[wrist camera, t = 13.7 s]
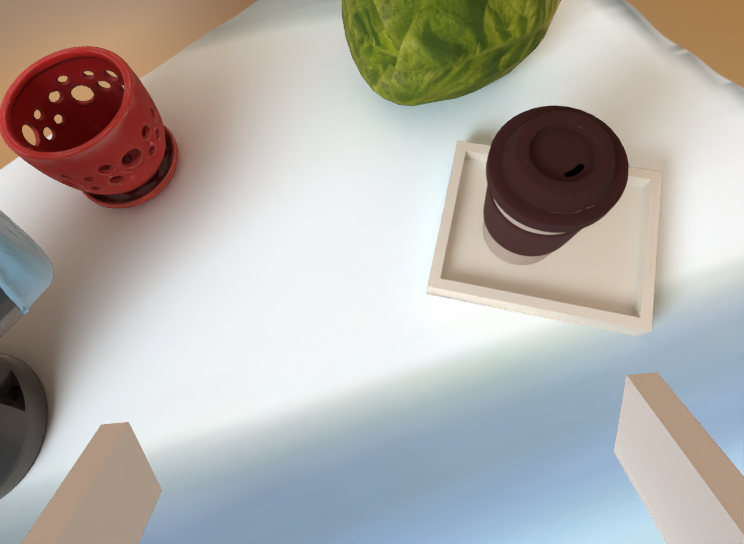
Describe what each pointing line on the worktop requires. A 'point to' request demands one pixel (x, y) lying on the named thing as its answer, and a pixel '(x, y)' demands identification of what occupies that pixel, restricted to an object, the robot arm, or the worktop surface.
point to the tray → (553, 256)
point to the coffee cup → (549, 181)
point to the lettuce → (441, 43)
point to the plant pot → (91, 128)
